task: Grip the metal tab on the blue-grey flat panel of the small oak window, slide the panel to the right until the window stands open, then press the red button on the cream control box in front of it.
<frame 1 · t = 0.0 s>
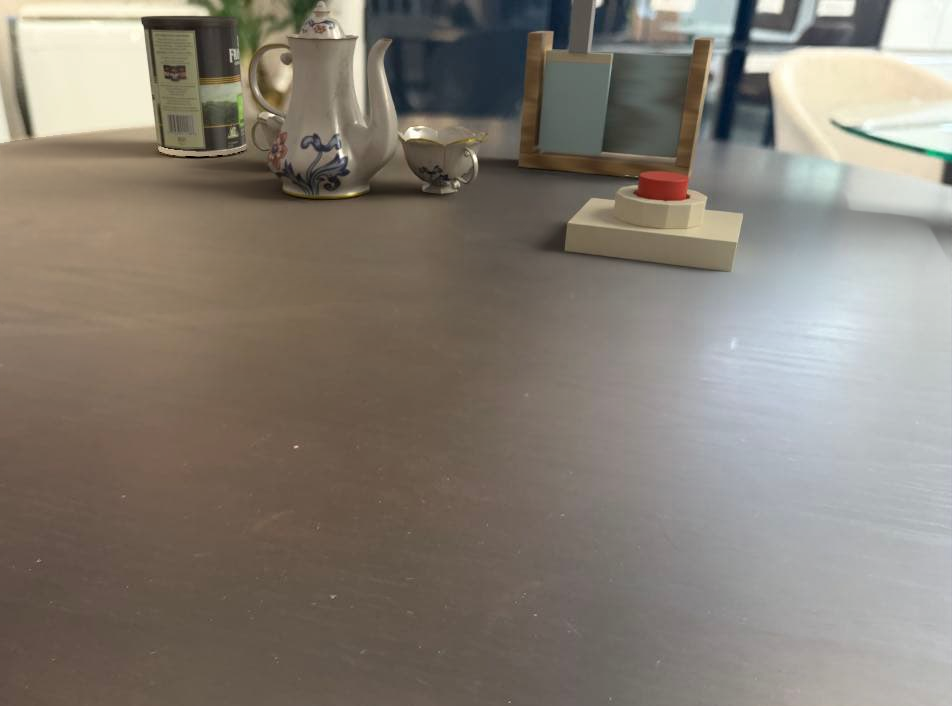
chinaware: (345, 186, 82), on the table
button box: (653, 246, 65), on the table
blue-grey flat panel: (577, 67, 87), point 10 cm above the table, slide at 0.0 cm
coffee can: (202, 151, 97), on the table
window frame: (604, 170, 91), on the table
button: (662, 187, 63), point 4 cm above the table, slide at 0.1 cm
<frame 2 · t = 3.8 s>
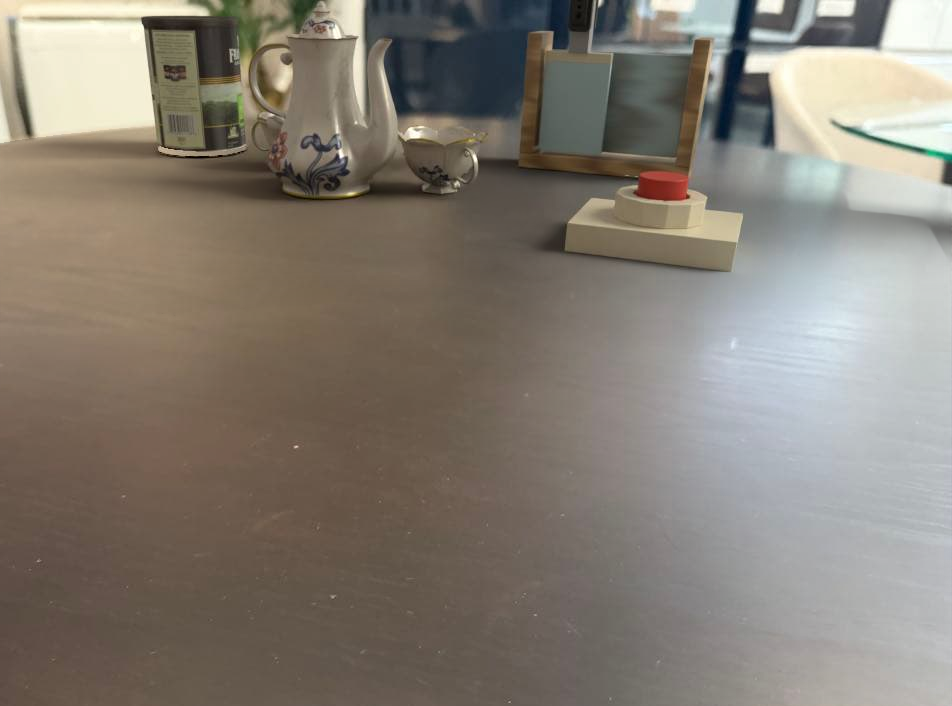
hand: (581, 30, 85), 14 cm above the table, tool pointing down, fingers closed on blue-grey flat panel, 2 cm apart
blue-grey flat panel: (578, 67, 87), point 10 cm above the table, slide at 0.0 cm, touching gripper
everything else where it was.
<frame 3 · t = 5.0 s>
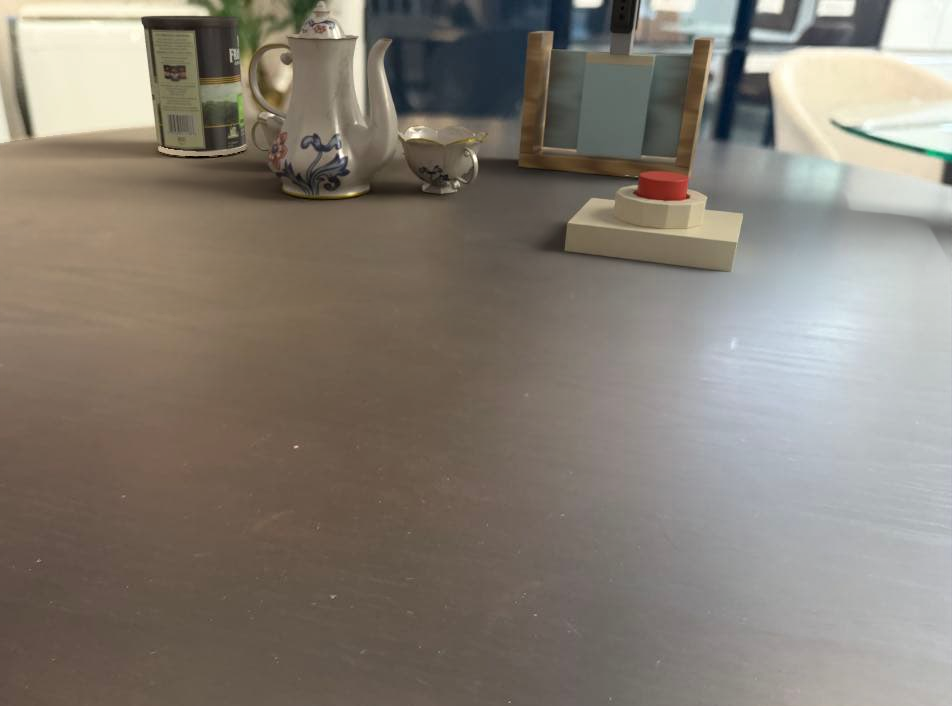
hand: (623, 31, 84), 14 cm above the table, tool pointing down, fingers closed on blue-grey flat panel, 2 cm apart
blue-grey flat panel: (618, 69, 85), point 10 cm above the table, slide at 4.2 cm, touching gripper
everything else where it was.
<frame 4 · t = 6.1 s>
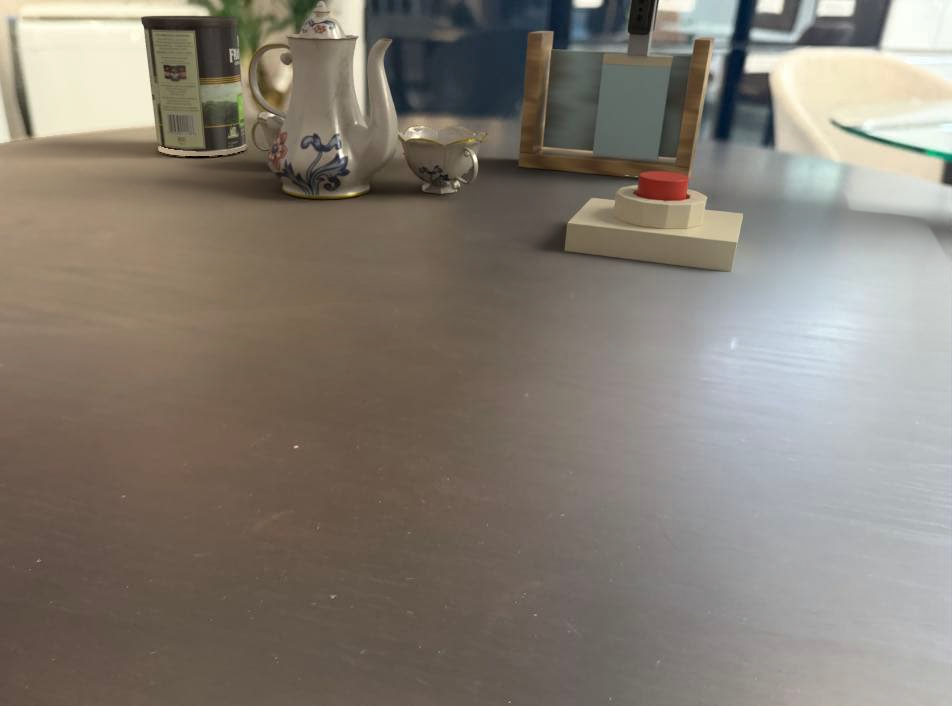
hand: (640, 33, 83), 14 cm above the table, tool pointing down, fingers closed on blue-grey flat panel, 2 cm apart
blue-grey flat panel: (636, 70, 85), point 10 cm above the table, slide at 6.0 cm, touching gripper
everything else where it was.
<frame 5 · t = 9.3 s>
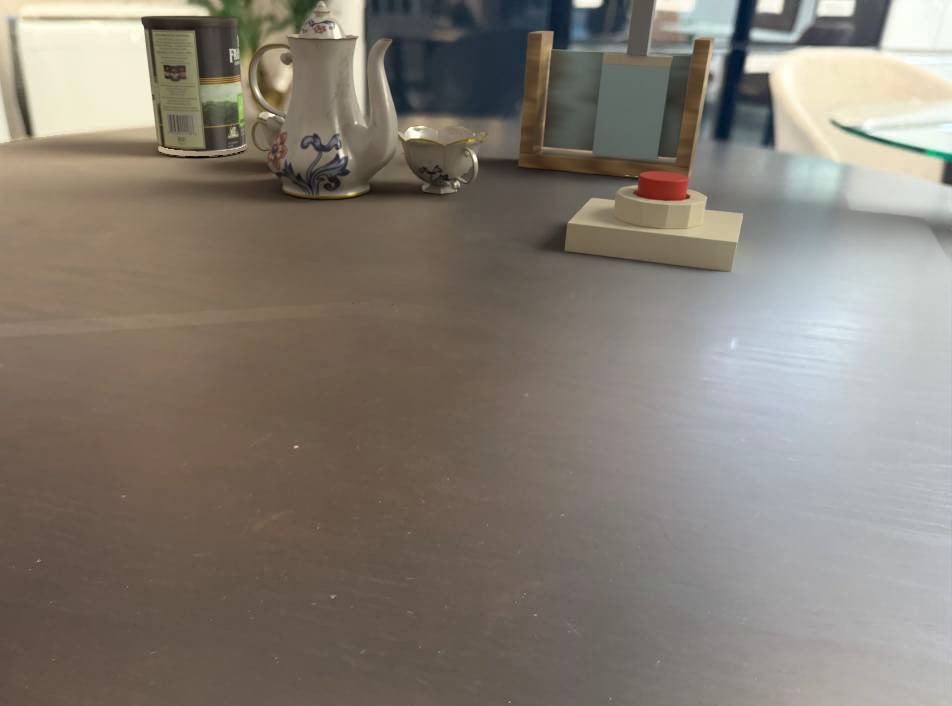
blue-grey flat panel: (635, 70, 85), point 10 cm above the table, slide at 5.9 cm
everything else where it was.
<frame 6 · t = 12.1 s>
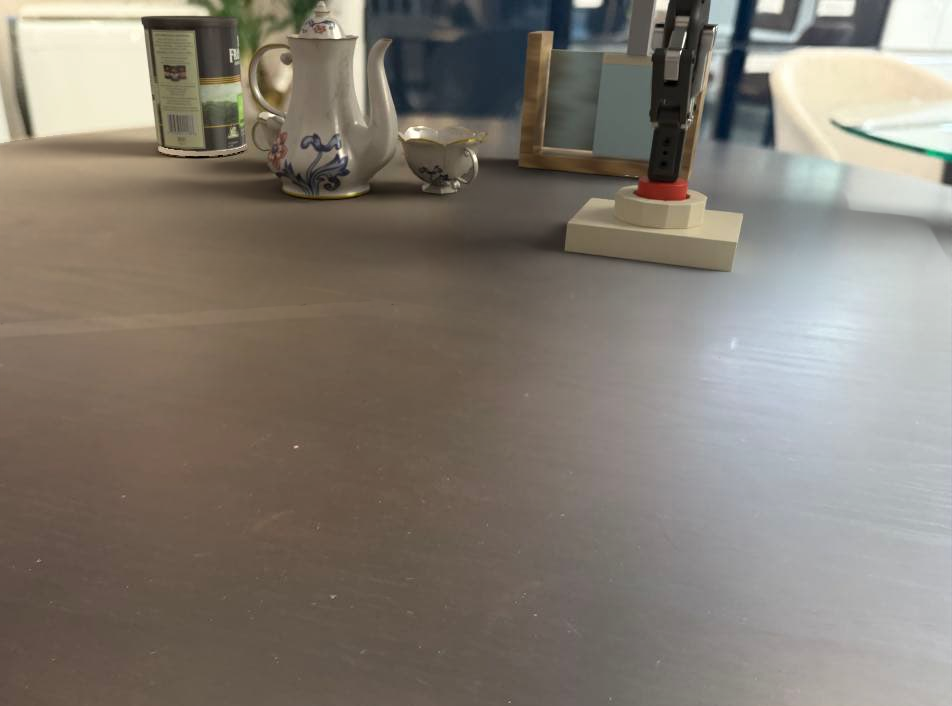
hand: (662, 180, 62), 5 cm above the table, tool pointing down, fingers closed
button: (661, 192, 63), point 4 cm above the table, slide at -0.2 cm, touching gripper
everything else where it was.
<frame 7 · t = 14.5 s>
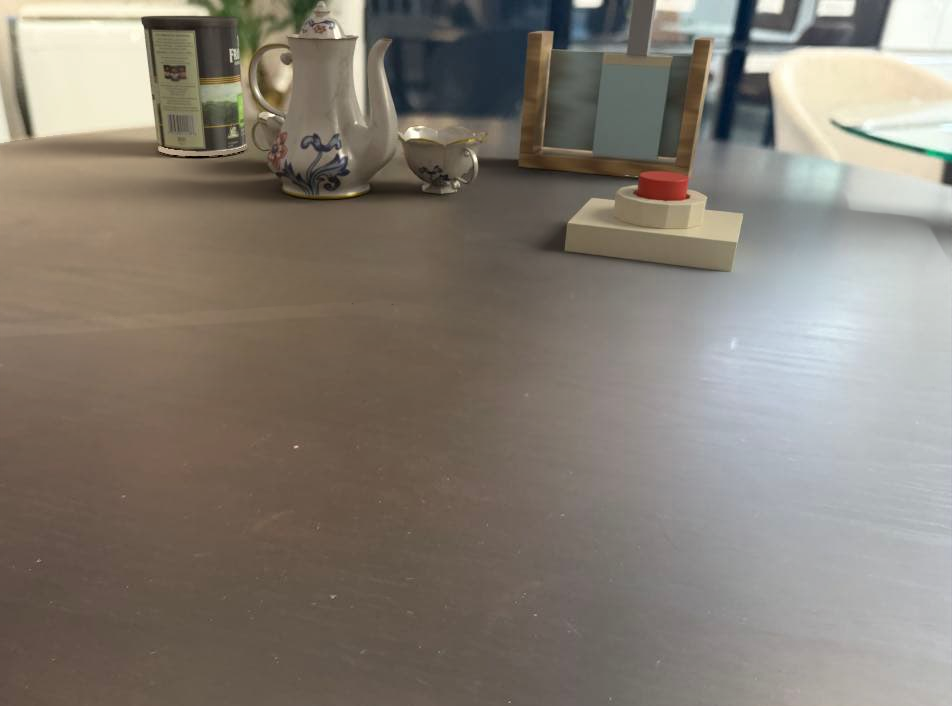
button: (662, 187, 63), point 4 cm above the table, slide at 0.1 cm
everything else where it was.
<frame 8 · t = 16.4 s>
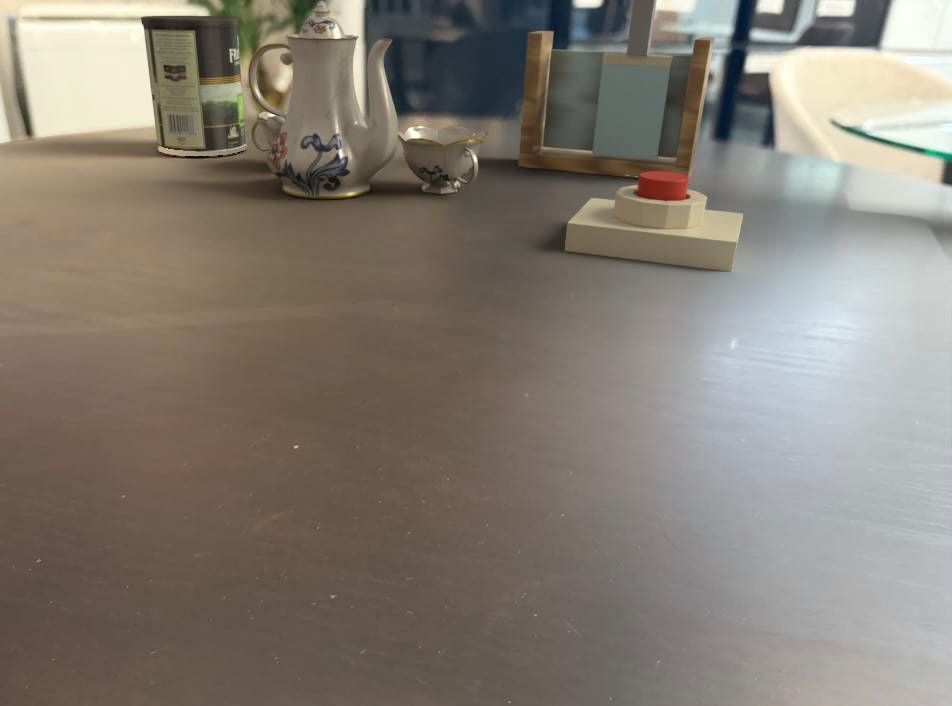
nothing on the table moved.
at the end: blue-grey flat panel slide at 5.9 cm; button pushed in 1.1 cm at the most during the clip, back to where it started at the end; button slide at 0.1 cm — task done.
